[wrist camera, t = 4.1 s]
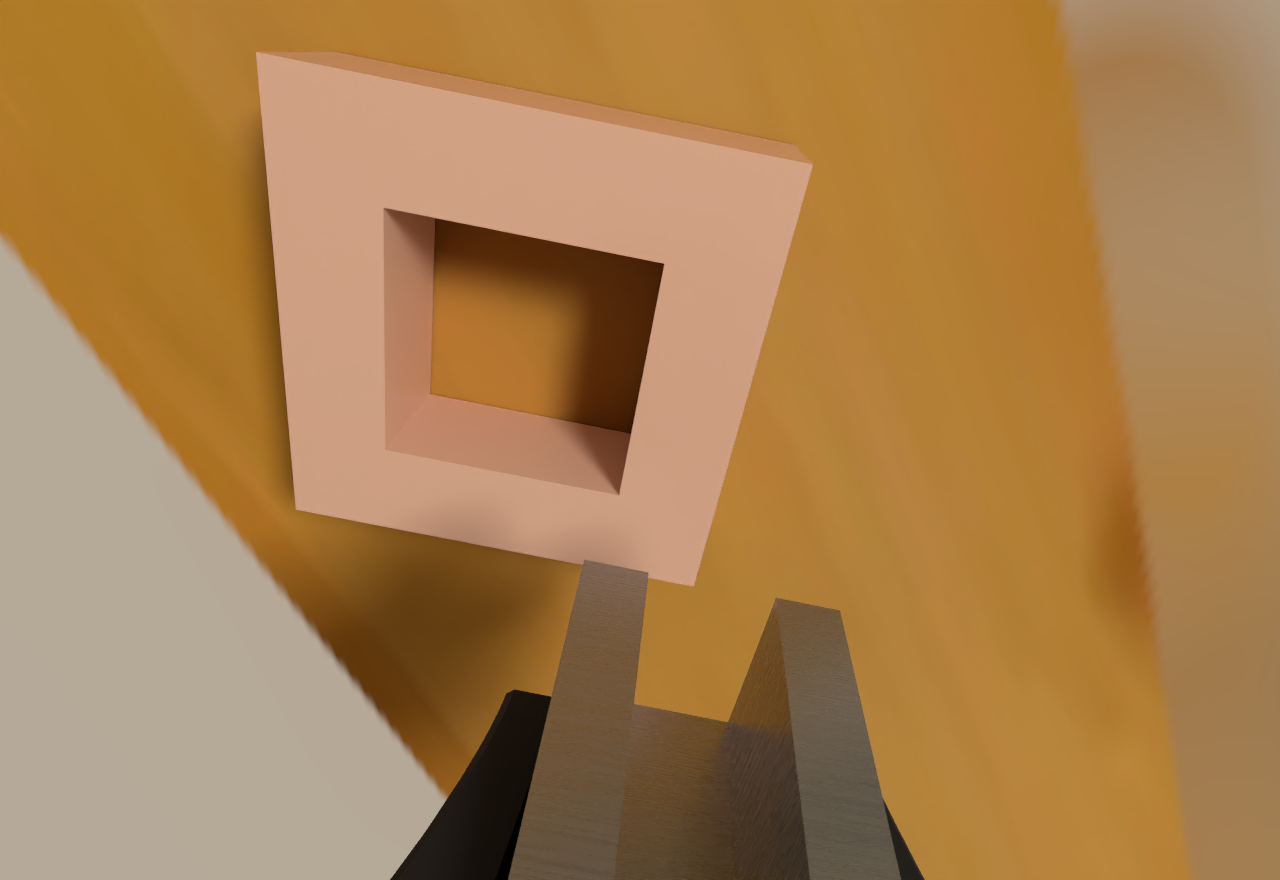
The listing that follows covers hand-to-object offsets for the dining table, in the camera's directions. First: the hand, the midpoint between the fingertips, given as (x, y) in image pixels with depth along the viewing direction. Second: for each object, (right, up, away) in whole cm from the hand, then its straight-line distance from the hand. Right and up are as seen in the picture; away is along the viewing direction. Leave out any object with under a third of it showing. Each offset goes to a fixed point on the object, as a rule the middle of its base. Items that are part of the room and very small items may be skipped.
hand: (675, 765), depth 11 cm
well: (-3, +8, +7) cm, 11 cm away
